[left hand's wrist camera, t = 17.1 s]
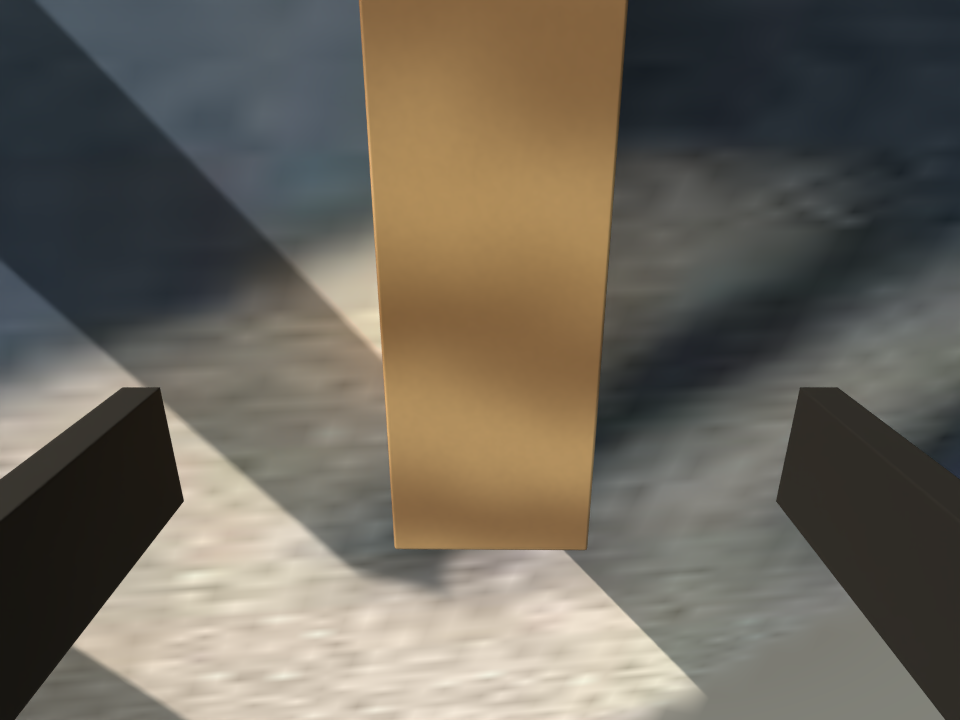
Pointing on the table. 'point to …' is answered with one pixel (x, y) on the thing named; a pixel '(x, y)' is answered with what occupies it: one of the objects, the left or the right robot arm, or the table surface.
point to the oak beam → (492, 259)
